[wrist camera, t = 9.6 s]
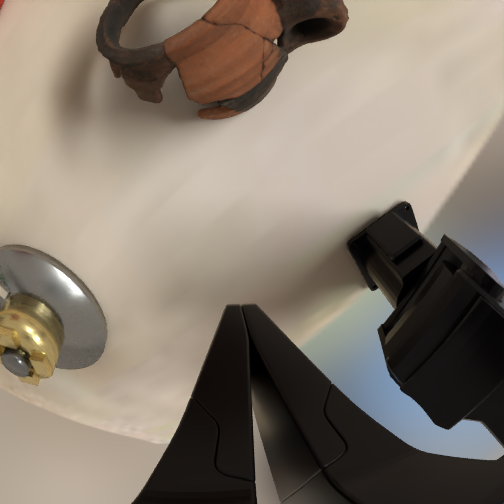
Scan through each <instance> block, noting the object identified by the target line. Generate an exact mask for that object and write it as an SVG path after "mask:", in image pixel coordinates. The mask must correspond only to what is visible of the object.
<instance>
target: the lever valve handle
mask: <svg viewBox="0 0 504 504" xmlns="http://www.w3.org/2000/svg"><path fill="white" fill-rule="evenodd" d="M64 339H65V333H64V329H63V327H62V325H61V323H60V321H59V320H58V318H57V317H56V316H55V315H54V314H53V313H52V311H51V310H49V309H48V308H47V307H46V306H45V305H44V304H42V303H41V302H39V301H37V300H36V299H34V298H32V297H29V296H26V295H22V294H14V295H11V296H9V297H8V298H7V299H6V301H5V303H4V304H3V306H2V307H1V309H0V363H2V362H1V356H2V354H3V352H4V350H5V347H9V348H13V349H16V350H17V348H19V349H20V350H22V351H23V352H24V353H25V354H26V355H27V356H28V357H29V360H30V362H31V364H32V365H31V367H30V370H29V373H28V376H27V377H25V378H23V377H19V376H18V377H19V379H20V380H21V381H22V382H26V383H29V384H32V385H36V386H38V383H39V380H40V379H45V378H49V377H51V376H52V374H53V372H54V369H55V366H56V363H57V360H58V357H59V354H60V351H61V348H62V345H63V343H64Z"/></svg>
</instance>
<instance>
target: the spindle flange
mask: <svg viewBox="0 0 504 504" xmlns="http://www.w3.org/2000/svg"><path fill="white" fill-rule="evenodd" d="M14 294H22V295H26V296H29V297H32V298H34V299H36V300H37V301H39V302H41V303H42V304H44V305H45V306H46V307H47V308H48V309H49V310H51V311H52V313H53V314H54V315H55V316H56V317H57V318H58V320H59V321H60V323H61V325H62V327H63V329H64V333H65V339H64V343H63V345H62V348H61V351H60V354H59V357H58V360H57V363H56V366H55V367H56V368H61V369H80V368H84V367H88V366H90V365H92V364H93V363H95V362H96V361H97V360H98V359H99V358H100V357H101V355H102V353H103V351H104V348H105V344H106V340H107V324H106V320H105V317H104V314H103V312H102V309H101V307H100V305H99V304H98V302H97V300H96V298H95V297H94V296H93V294H92V293H91V291H90V290H89V289H88V288H87V286H86V285H85V284H84V283H83V282H82V281H81V280H80V279H79V278H78V277H77V276H76V275H75V274H74V273H73V272H72V271H71V270H70V269H69V268H67V267H66V266H65V265H63V264H62V263H61V262H59V261H58V260H56V259H55V258H53V257H51V256H50V255H48V254H46V253H44V252H42V251H39V250H37V249H34V248H31V247H27V246H23V245H6V246H3V247H0V309H1V307H2V306H3V304H4V303H5V301H6V299H7V298H8V297H9V296H11V295H14ZM1 362H2V364H3V365H4V366H5V368H6V369H8V370H9V371H10V372H11V373H13V374H15V375H16V376H19V377H23V378H25V377H27V376H28V373H29V370H30V367H31V365H32V364H31V362H30V360H29V357H28V356H27V355H26V354H25V353H24V352H23V351H22V350H20V349H19V348H17V350H16V349H13V348H9V347H5V350H4V352H3V354H2V356H1Z"/></svg>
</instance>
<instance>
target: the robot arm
mask: <svg viewBox="0 0 504 504" xmlns="http://www.w3.org/2000/svg"><path fill="white" fill-rule="evenodd" d="M405 207H406V209H405ZM353 244H355V245H354V246H353V247H352V245H353ZM347 248H348V250H349V252H350V253H351V255H352V257H353V259H354V261H355V262H356V264H357V266H358V268H359V270H360V272H361V274H362V275H363V277H364V279H365V281H366V283H367V285H368V287H369V288H370V290H371V291H374V290H376V289H378V288H379V289H380V290H381V291H382V293H383V294H384V295H385V297H386V298H387V300H388V301H389V302H390V303H391V305H392V307H393V308H394V309H395V310H394V311H393V312H392V314H391V315H390V316H389V318H388V319H387V320H386V321H385V322H384V324H381V326H380V327H379V328H378V334H379V338H380V341H381V345H382V349H383V353H384V357H385V361H386V365H387V369H388V371H389V373H390V377H391V378H392V379H393V380H394V381H395V382H396V383H397V384H398V385H399V386H400V390H401V391H402V392H403V393H405V394H407V395H408V396H410V397H411V398H412V399H413V400H415V401H416V402H417V403H418V404H419V405H420V406H421V407H422V408H423V410H424V411H425V412H426V413H427V415H428V416H429V417H430V419H431V420H432V421H433V423H434V424H435V425H437V426H440V427H442V428H444V429H448V430H449V429H451V428H452V427H453V426H455V425H456V424H457V423H458V422H460V421H461V420H462V419H463V420H470V421H477V422H481V423H482V424H483V425H484V426H485V427H486V428H487V429H488V430H489V431H490V433H491V434H492V435H493V436H494V437H495V438H496V439H497V441H498V442H499V443H500V444H501V445H502V446H503V448H504V285H503V283H502V282H501V281H500V280H499V279H498V277H497V276H496V275H495V274H494V273H493V272H492V270H491V269H490V268H489V267H488V266H487V265H485V264H484V263H483V262H482V261H481V260H480V259H479V258H477V257H476V256H475V255H474V254H473V253H472V252H470V251H469V250H468V249H466V248H465V247H463V246H462V245H460V244H459V243H457V242H456V241H455V240H453V239H452V238H450V237H449V236H447V235H446V234H444V235H443V237H442V239H441V243H440V245H439V246H438V247H437V246H435V245H434V244H433V243H432V242H431V241H430V240H429V239H427V238H426V237H425V236H424V235H423V234H422V233H420V232H419V229H418V226H417V222H416V219H415V216H414V213H413V210H412V207H411V205H410V204H409V203H408V202H406V201H404V202H402V203H401V204H399V205H398V206H397V207H395V208H394V209H393V210H391V211H390V212H389V213H387V214H386V215H384V216H383V217H382V218H380V219H379V220H377V221H376V222H375V223H373V224H372V225H370V226H369V227H368V228H366V229H365V230H363V231H362V232H361V233H359V234H358V235H356V236H355V237H353V238H352V239H351V240H349V241H348V243H347ZM373 285H374V286H373ZM252 407H253V410H254V414H255V418H256V421H257V425H258V428H259V432H260V436H261V439H262V443H263V446H264V450H265V453H266V457H267V460H268V464H269V466H270V470H271V473H272V477H273V480H274V484H275V487H276V490H277V493H278V496H279V499H280V502H281V504H504V455H503V456H502V457H500V458H499V459H497V460H478V459H468V458H459V457H451V456H444V455H437V454H432V453H427V452H424V451H421V450H418V449H416V448H413V447H412V446H410V445H408V444H407V443H405V442H404V441H402V440H401V439H399V438H398V437H397V436H395V435H394V434H393V433H391V432H390V431H388V430H387V429H386V428H384V427H383V426H382V425H380V424H379V423H378V422H376V421H375V420H374V419H372V418H371V417H370V416H369V415H367V414H366V413H365V412H364V411H362V410H361V409H360V408H359V407H358V406H356V405H355V404H354V403H353V402H352V401H351V400H350V399H349V398H348V397H347V396H345V395H344V394H343V393H342V392H341V391H340V390H339V389H338V388H337V387H336V386H335V385H334V384H331V381H330V380H329V379H328V378H327V377H326V376H325V375H324V374H323V373H322V372H321V371H320V370H319V369H318V368H317V367H316V366H315V365H314V364H313V363H312V362H311V361H310V360H309V359H308V358H307V357H306V356H305V355H304V354H303V352H302V351H301V350H300V349H299V348H298V347H297V346H296V345H295V344H294V343H293V342H292V341H291V340H290V339H289V338H288V337H287V336H286V335H285V334H284V333H283V332H282V331H281V330H280V329H279V328H278V326H277V325H276V324H275V323H274V322H273V321H272V320H271V319H270V318H269V317H268V316H267V315H266V314H265V313H264V312H263V311H262V310H261V308H260V307H259V306H258V305H256V304H243V305H242V306H241V305H239V304H231V305H226V307H225V309H224V312H223V314H222V317H221V320H220V322H219V325H218V327H217V330H216V332H215V335H214V338H213V340H212V343H211V345H210V348H209V351H208V353H207V356H206V358H205V361H204V364H203V366H202V369H201V371H200V374H199V377H198V379H197V382H196V384H195V387H194V390H193V392H192V395H191V398H190V400H189V402H188V405H187V407H186V410H185V412H184V415H183V417H182V419H181V422H180V424H179V426H178V428H177V430H176V432H175V434H174V436H173V438H172V440H171V442H170V444H169V445H168V447H167V449H166V451H165V452H164V454H163V456H162V458H161V459H160V461H159V463H158V464H157V466H156V468H155V469H154V471H153V473H152V474H151V476H150V478H149V480H148V481H147V483H146V485H145V486H144V488H143V489H142V490H141V492H140V493H139V495H138V496H137V497H136V499H135V500H134V501H133V502H132V503H131V504H257V497H256V484H255V462H254V461H255V460H254V439H253V418H252V417H253V416H252Z"/></svg>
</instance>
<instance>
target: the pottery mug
mask: <svg viewBox="0 0 504 504" xmlns="http://www.w3.org/2000/svg"><path fill="white" fill-rule="evenodd" d="M142 1H144V0H110V2H109V3H108V6H107V7H106V8H105V10H104V12H103V14H102V16H101V17H100V22H99V25H98V28H97V33H96V43H97V46H98V51H99V52H101V53H102V55H103V56H104V57H106V58H107V59H108V60H109V61H110V66H111V69H112V71H113V73H114V76H115V77H116V78H119V77H120V76H121V75H122V77H123V79H124V80H125V82H126V84H127V85H128V86H129V87H130V88H132V89H133V90H135V91H136V93H137V95H138V97H139V98H140V99H142V100H144V101H149V102H153V103H160V102H162V98H163V97H162V94H161V91H160V89H161V88H162V86H163V84H164V81H165V79H166V78H167V76H168V75H169V74H170V73H171V71H172V70H173V69H174V67H177V69H178V73H179V76H180V79H181V80H182V82H183V86H184V89H185V91H186V94H187V97H188V98H189V99H190V100H193V101H195V102H197V103H201V104H206V103H210V102H213V101H218V104H220V105H222V106H219V107H213V108H206V109H200V110H198V117H200V118H202V119H223V118H228V117H232V116H235V115H238V114H240V113H242V112H244V111H247V110H249V109H251V108H252V107H254V106H255V105H256V104H258V103H259V102H260V101H262V100H263V99H264V97H265V96H266V95H267V94H268V93H269V92H270V90H271V89H272V87H273V86H274V84H275V82H276V79H277V76H278V75H279V73H280V72H281V70H282V68H283V66H284V64H285V63H286V62H287V60H288V54H289V53H291V52H292V51H293V50H295V49H296V48H298V47H300V46H302V45H305V44H307V43H313V42H317V41H321V40H325V39H328V38H331V37H333V36H335V35H337V34H339V33H340V32H342V31H343V30H344V28H345V26H346V23H347V21H348V19H349V17H348V15H347V14H348V9H347V8H346V6H345V5H344V2H343V0H218V1H217V2H216V3H215V5H214V6H213V7H212V8H211V9H210V10H209V11H208V12H206V13H205V14H204V16H203V17H202V18H201V19H199V20H197V21H196V22H194V23H193V24H192V25H190V26H189V27H187V28H186V29H184V30H182V31H181V32H179V33H177V34H176V35H174V36H172V37H170V38H168V39H166V40H165V41H164V42H162V43H160V44H155V45H151V46H148V47H144V48H139V49H127V48H123V47H121V46H120V45H119V43H118V41H119V37H120V33H121V29H122V27H124V26H125V24H126V22H127V21H128V19H129V18H130V16H131V15H132V13H133V12H134V10H135V9H136V8H137V7H138V5H139V4H140V3H141V2H142ZM275 39H277V45H276V44H275V43H273V41H274V40H275Z"/></svg>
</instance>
